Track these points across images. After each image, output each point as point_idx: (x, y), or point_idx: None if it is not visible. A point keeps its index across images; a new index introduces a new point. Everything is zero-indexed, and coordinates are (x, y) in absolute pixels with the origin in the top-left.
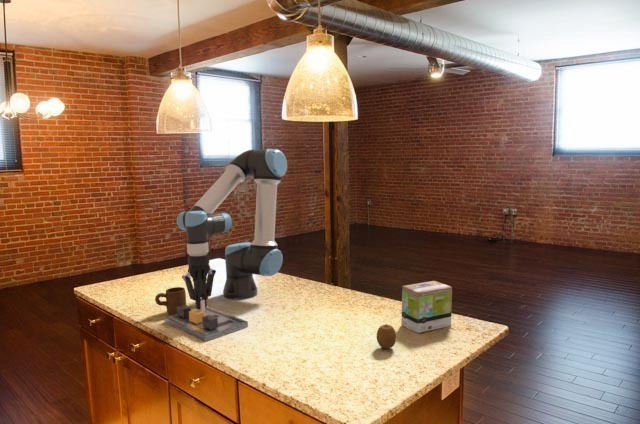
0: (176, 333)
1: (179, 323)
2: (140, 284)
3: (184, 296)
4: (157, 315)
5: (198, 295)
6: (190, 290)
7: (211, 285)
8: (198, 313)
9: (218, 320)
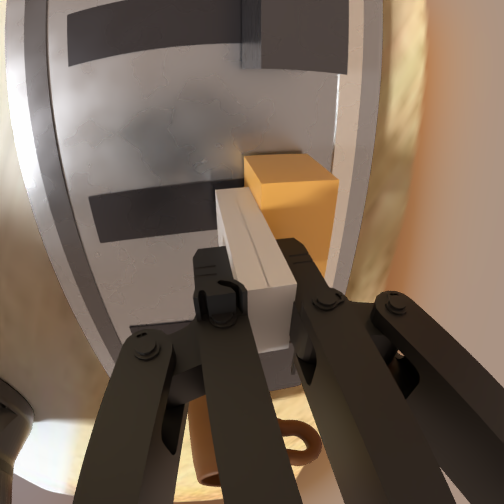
0: (383, 185)
1: (350, 247)
2: (203, 490)
3: (208, 444)
4: (288, 392)
5: (360, 345)
6: (496, 389)
7: (97, 492)
8: (310, 188)
9: (136, 114)
